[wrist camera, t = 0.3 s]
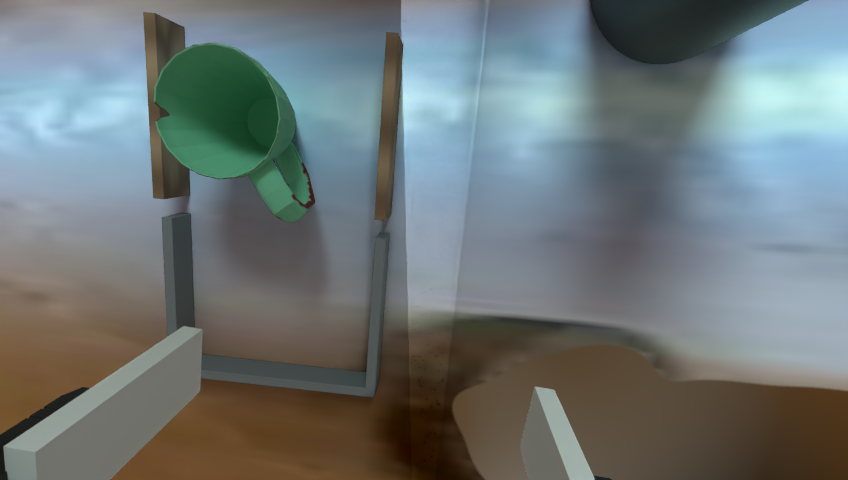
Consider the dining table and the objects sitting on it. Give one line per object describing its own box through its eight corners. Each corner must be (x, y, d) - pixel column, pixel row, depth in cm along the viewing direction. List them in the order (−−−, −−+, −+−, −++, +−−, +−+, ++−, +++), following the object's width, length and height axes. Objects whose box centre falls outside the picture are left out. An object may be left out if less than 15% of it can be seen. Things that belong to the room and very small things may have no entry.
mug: (203, 106, 40) (125, 91, 30) (282, 49, 39) (227, 13, 29) (289, 231, 42) (242, 254, 32) (366, 181, 41) (342, 190, 31)
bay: (174, 26, 39) (143, 12, 35) (403, 45, 38) (398, 33, 34) (180, 193, 42) (153, 198, 38) (391, 214, 41) (385, 220, 37)
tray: (181, 212, 42) (161, 217, 40) (389, 233, 42) (385, 239, 39) (187, 360, 46) (169, 374, 43) (378, 381, 45) (374, 397, 42)
